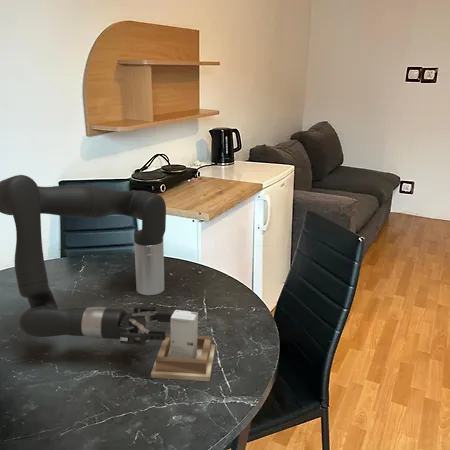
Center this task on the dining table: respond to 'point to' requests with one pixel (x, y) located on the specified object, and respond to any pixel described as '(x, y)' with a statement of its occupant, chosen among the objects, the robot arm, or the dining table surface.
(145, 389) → the dining table surface
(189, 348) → the skincare box
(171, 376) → the socket board
